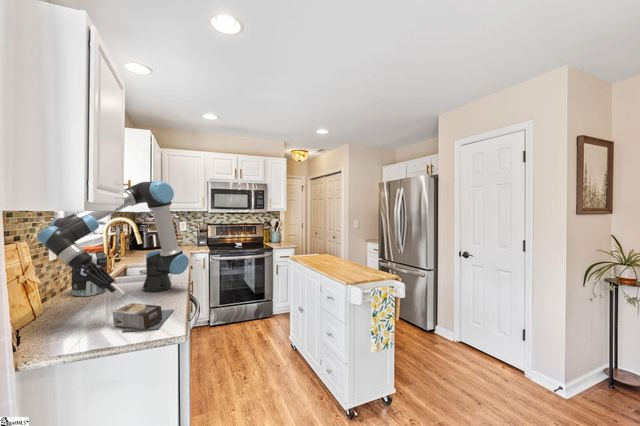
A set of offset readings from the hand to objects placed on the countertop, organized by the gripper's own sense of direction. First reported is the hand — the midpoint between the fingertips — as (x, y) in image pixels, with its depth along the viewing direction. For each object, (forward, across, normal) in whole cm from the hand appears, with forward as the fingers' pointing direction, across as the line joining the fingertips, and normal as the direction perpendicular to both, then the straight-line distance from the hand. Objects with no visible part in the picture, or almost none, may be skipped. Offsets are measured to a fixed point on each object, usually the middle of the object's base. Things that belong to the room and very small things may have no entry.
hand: (121, 295), depth 122 cm
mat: (+16, 0, 0) cm, 16 cm away
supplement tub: (-17, -49, -34) cm, 62 cm away
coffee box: (+6, +1, -5) cm, 8 cm away
